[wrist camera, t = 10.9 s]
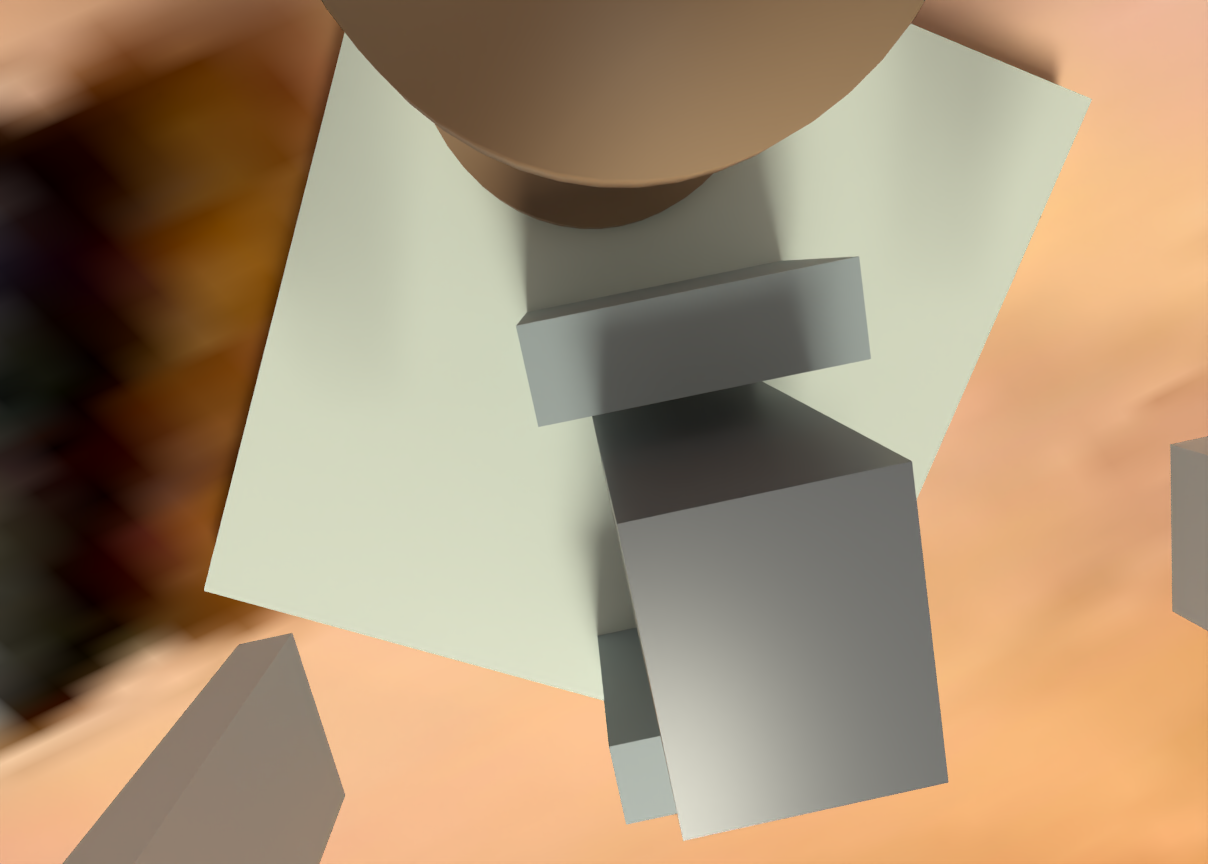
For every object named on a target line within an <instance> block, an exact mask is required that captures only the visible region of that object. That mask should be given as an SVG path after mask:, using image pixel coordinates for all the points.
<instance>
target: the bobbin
mask: <svg viewBox="0 0 1208 864" xmlns="http://www.w3.org/2000/svg"><path fill="white" fill-rule="evenodd" d="M924 1H925V0H322V2H323V4H324V5H325V7H326V9H327V10H328V11H329V12H330V14H331V15H332V16H333V18H334V19H335V20H336V22H337V23H338V24H339V25H340V27H341V28H342V29H343V31H344V32H345V33H346V35H347V36H348V37H349V38H350V40H351V41H352V42H353V44H354V45H355V46H356V47H357V49H358V50H359V51H360V52H361V53H362V54H363V56H364V57H365V58H366V59H367V60H368V61H369V62H370V63H371V64H372V66H373V67H374V68H375V69H376V70H377V71H378V72H379V73H380V74H381V75H382V76H383V77H384V78H385V79H386V80H387V81H388V82H389V83H390V84H391V85H392V86H393V87H394V88H395V89H396V90H397V91H398V92H399V94H400V95H401V96H402V97H403V98H404V99H405V100H406V101H407V102H408V103H409V104H411V105H412V106H413V107H414V108H416V109H417V110H418V111H419V112H421V113H422V114H423V115H424V116H426V117H427V118H428V119H430V120H431V121H432V122H433V123H435V126H436V127H437V129H438V131H439V132H440V134H441V136H442V138H443V139H444V141H445V143H446V144H447V146H448V147H449V149H450V150H451V151H452V153H453V154H454V155H455V157H456V158H457V159H458V161H459V162H460V163H461V164H462V166H463V167H464V168H465V169H466V170H467V171H468V172H469V173H470V174H471V175H472V176H473V177H474V178H475V179H476V180H477V181H478V182H479V183H480V184H481V185H482V186H483V187H484V188H485V189H486V190H488V191H489V192H490V193H491V194H493V195H494V196H495V197H496V198H498V199H499V200H500V201H502V202H504V203H505V204H507V205H509V206H510V207H512V208H514V209H515V210H517V211H519V212H521V213H523V214H526V215H528V216H530V217H533V218H535V219H537V220H540V221H544V222H547V223H551V224H554V225H558V226H564V227H571V228H578V229H603V228H611V227H619V226H624V225H627V224H631V223H635V222H638V221H642V220H644V219H646V218H649V217H651V216H653V215H656V214H658V213H661V212H662V211H664V210H666V209H667V208H669V207H671V206H672V205H674V204H676V203H677V202H679V201H681V200H682V199H684V198H686V197H687V196H688V195H689V194H691V193H692V192H693V191H694V190H696V189H697V188H698V187H700V186H701V185H702V184H703V183H704V182H705V181H706V180H707V179H708V178H709V177H710V176H711V175H712V174H713V173H716V172H719V171H721V170H723V169H726V168H728V167H731V166H733V165H735V164H738V163H740V162H742V161H745V160H747V159H749V158H752V157H754V156H756V155H758V154H759V153H761V152H763V151H764V150H766V149H768V148H769V147H771V146H773V145H775V144H776V143H778V142H780V141H781V140H783V139H785V138H786V137H788V136H790V135H791V134H793V133H795V132H796V131H798V130H800V129H801V128H803V127H805V126H807V125H808V124H810V123H812V122H813V121H814V120H816V119H817V118H818V117H820V116H821V115H822V114H823V113H825V112H826V111H827V110H829V109H830V108H831V107H832V106H834V105H835V104H836V103H837V102H839V101H840V100H841V99H843V98H844V97H845V96H846V95H848V94H849V93H850V92H851V91H852V90H853V89H854V88H855V87H856V86H857V85H858V84H859V83H860V82H861V81H862V80H863V79H864V78H865V77H866V76H867V75H868V74H869V73H870V72H871V71H872V70H873V69H874V68H875V67H876V66H877V65H878V64H879V63H880V62H881V61H882V60H883V59H884V57H885V56H886V55H887V53H888V52H889V51H890V50H891V48H892V47H893V46H894V44H895V43H896V42H897V41H898V39H899V38H900V37H901V35H902V34H903V33H904V32H905V30H906V29H907V28H908V26H909V25H910V24H911V23H912V21H913V20H914V18H915V16H916V15H917V13H918V11H919V10H920V8H921V6H922V5H923V3H924Z"/></svg>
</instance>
